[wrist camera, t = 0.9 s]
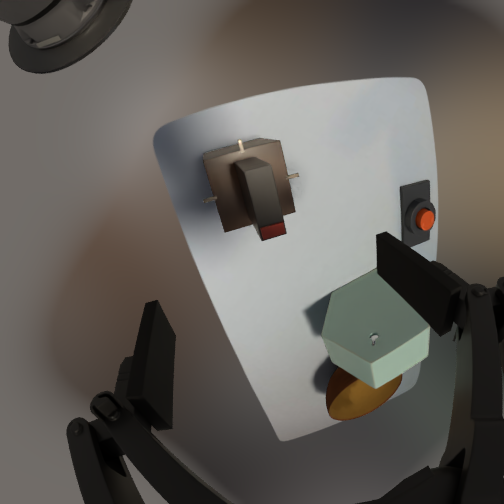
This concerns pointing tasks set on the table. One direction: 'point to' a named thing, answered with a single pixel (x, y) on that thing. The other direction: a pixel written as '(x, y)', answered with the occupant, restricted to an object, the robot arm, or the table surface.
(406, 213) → the button box
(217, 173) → the pegged wooden cube
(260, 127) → the table surface
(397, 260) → the robot arm
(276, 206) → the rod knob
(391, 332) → the sage hexagonal prism
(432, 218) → the button
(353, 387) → the bowl
